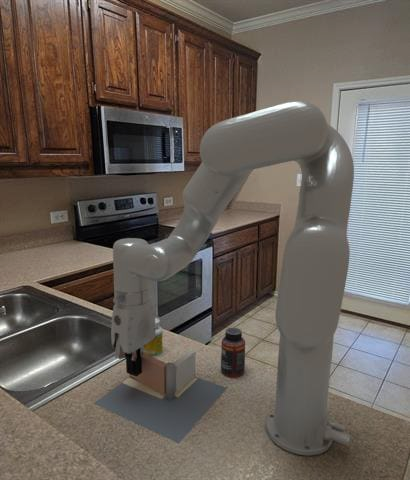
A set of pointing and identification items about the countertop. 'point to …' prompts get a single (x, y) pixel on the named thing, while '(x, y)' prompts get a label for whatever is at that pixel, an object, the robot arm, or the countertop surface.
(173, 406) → the board
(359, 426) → the countertop surface
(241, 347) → the supplement bottle
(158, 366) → the fence panel
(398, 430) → the countertop surface
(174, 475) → the countertop surface
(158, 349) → the supplement bottle
